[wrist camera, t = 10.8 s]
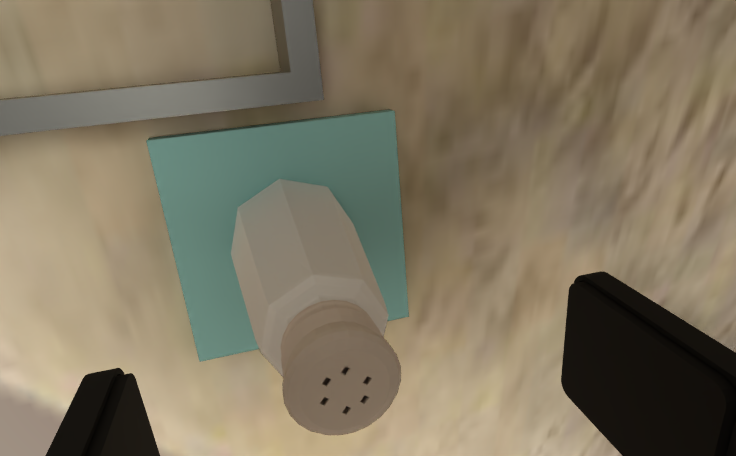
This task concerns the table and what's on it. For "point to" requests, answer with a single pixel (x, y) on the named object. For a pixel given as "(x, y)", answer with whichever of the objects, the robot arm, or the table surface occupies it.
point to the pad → (252, 175)
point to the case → (186, 87)
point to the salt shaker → (315, 307)
